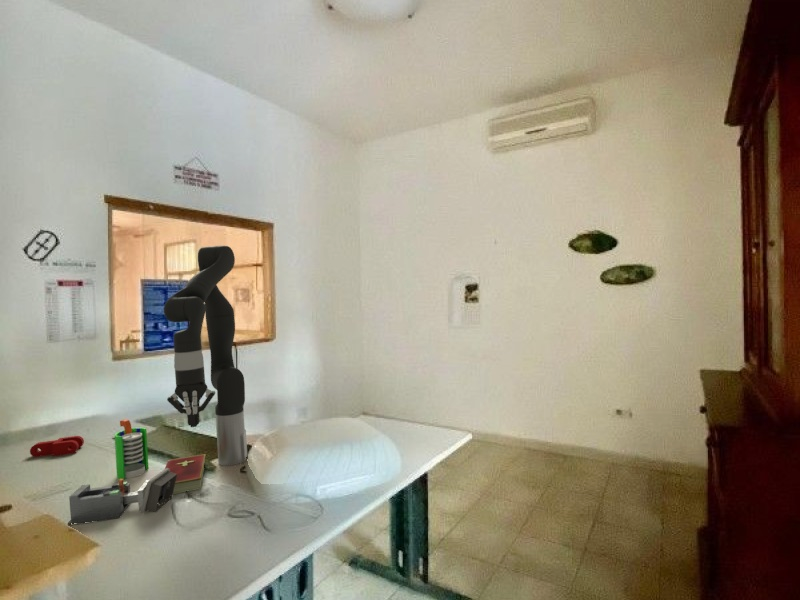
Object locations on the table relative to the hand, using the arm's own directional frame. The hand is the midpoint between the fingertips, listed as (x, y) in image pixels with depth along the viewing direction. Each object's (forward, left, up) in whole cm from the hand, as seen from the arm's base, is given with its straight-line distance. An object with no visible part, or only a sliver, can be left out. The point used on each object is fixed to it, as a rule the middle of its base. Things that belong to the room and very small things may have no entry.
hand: (194, 426), depth 125 cm
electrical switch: (+10, +1, -21) cm, 23 cm away
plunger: (+20, +1, -21) cm, 28 cm away
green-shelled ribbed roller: (+27, -26, -21) cm, 43 cm away
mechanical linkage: (+64, -59, -22) cm, 89 cm away
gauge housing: (+25, +1, -21) cm, 32 cm away
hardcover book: (+8, -15, -22) cm, 28 cm away
